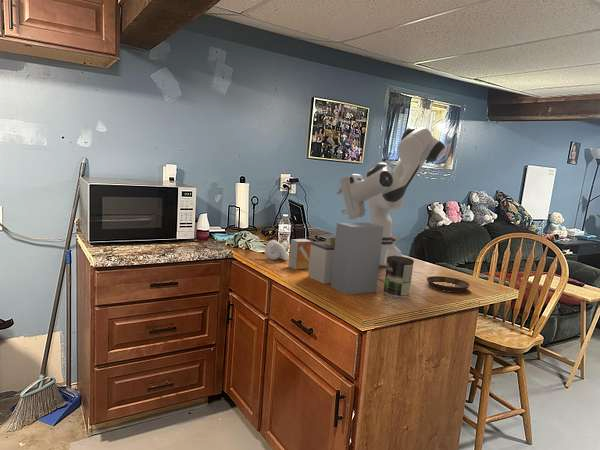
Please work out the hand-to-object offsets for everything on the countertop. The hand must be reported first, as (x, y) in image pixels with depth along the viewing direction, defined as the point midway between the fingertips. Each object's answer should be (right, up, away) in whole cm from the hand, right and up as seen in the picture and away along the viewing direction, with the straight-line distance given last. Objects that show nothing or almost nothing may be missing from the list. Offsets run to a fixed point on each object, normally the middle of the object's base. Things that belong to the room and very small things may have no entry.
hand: (340, 203), depth 197 cm
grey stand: (+3, -36, -29) cm, 46 cm away
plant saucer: (+45, -38, -15) cm, 60 cm away
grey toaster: (-4, -33, -15) cm, 37 cm away
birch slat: (+1, -18, -15) cm, 24 cm away
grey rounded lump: (-30, -27, +14) cm, 43 cm away
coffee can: (+19, -38, -31) cm, 52 cm away
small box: (-19, -30, -1) cm, 36 cm away
